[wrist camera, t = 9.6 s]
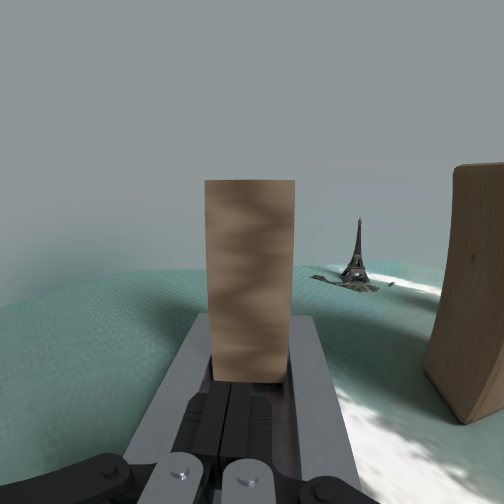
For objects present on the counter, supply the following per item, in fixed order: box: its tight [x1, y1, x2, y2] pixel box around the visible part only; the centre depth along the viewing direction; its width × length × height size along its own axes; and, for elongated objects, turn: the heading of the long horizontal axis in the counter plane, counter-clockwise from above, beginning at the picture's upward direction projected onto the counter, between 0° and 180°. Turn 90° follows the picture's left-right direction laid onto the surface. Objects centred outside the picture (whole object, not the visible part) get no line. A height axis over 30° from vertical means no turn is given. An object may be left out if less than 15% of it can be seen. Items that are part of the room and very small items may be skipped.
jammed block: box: [205, 180, 295, 383], centre depth 23 cm, size 6×6×16 cm
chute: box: [123, 313, 362, 504], centre depth 20 cm, size 14×24×3 cm, turn 177°
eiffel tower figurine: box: [311, 219, 394, 292], centre depth 51 cm, size 15×10×13 cm
